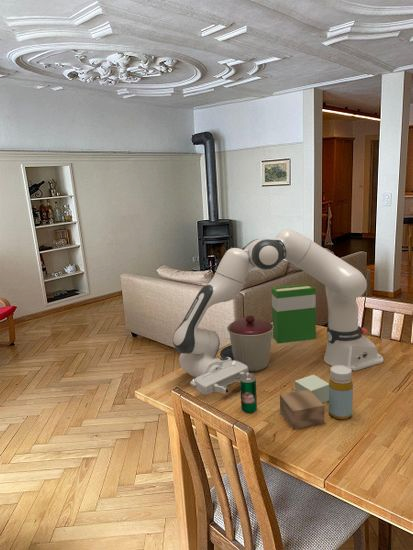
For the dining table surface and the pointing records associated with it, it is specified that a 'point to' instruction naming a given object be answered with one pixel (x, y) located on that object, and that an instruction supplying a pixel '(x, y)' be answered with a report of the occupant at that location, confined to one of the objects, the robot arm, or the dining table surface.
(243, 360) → the canister
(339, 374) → the bottle
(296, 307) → the green cereal box
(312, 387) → the sage block
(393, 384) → the dining table surface
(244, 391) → the soda can
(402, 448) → the dining table surface
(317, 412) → the walnut block
